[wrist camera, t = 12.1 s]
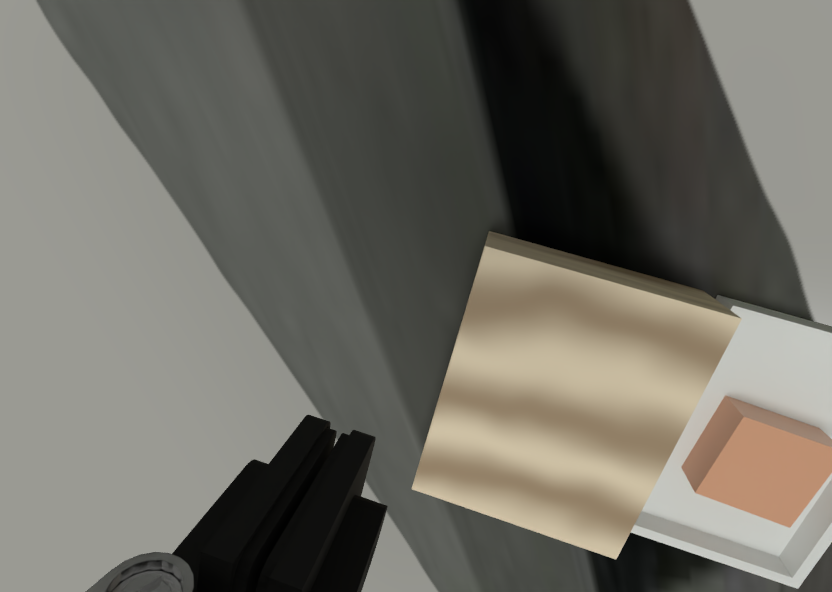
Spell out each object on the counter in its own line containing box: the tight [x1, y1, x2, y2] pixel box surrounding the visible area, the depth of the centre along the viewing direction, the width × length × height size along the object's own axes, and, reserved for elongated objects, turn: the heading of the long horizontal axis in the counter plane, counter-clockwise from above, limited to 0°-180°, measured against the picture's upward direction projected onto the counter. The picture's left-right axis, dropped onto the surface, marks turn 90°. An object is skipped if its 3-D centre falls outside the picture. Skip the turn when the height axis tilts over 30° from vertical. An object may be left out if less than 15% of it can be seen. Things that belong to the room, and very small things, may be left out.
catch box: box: [631, 295, 832, 589], centre depth 35 cm, size 20×14×2 cm
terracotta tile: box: [681, 395, 832, 528], centre depth 35 cm, size 7×7×3 cm
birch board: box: [412, 231, 742, 559], centre depth 35 cm, size 20×16×6 cm
